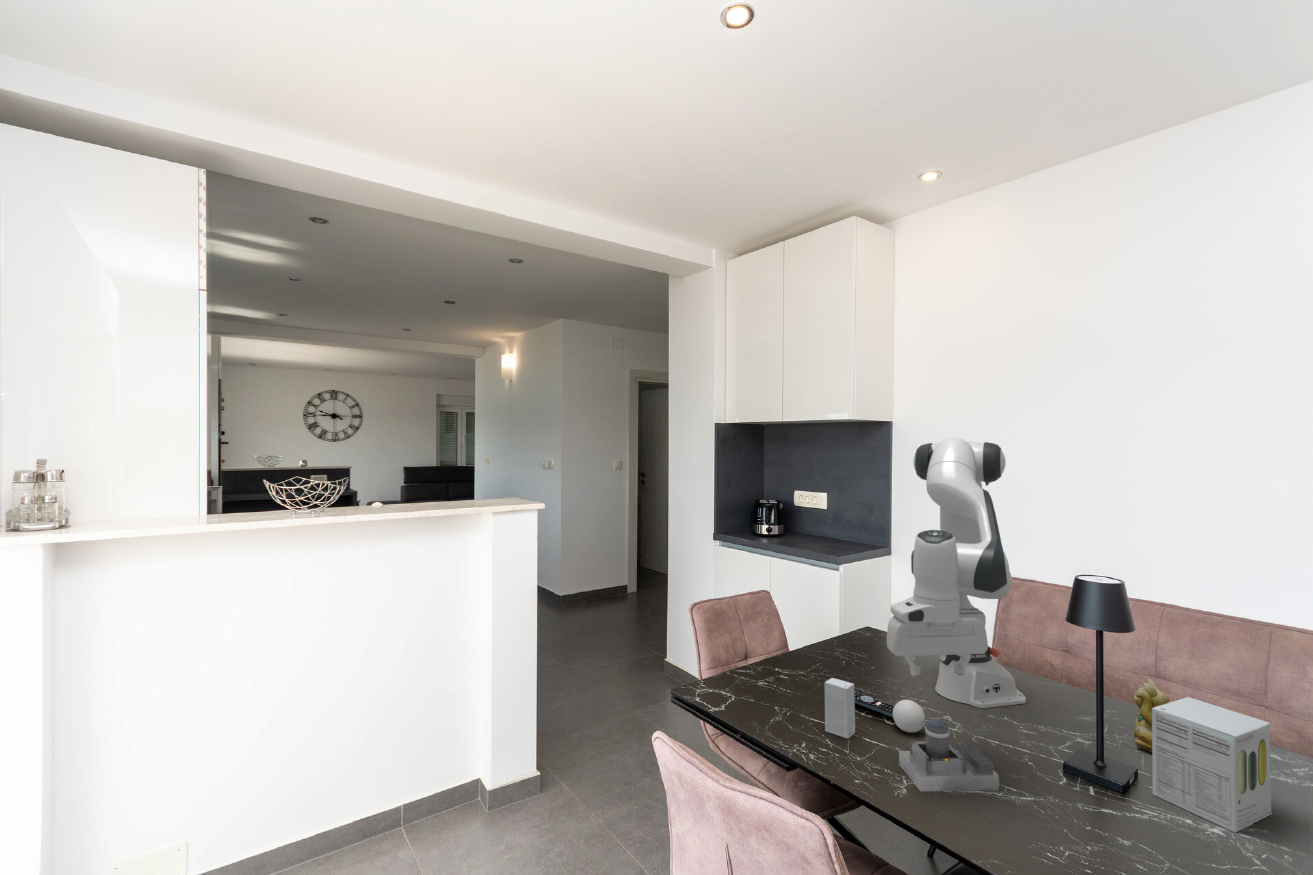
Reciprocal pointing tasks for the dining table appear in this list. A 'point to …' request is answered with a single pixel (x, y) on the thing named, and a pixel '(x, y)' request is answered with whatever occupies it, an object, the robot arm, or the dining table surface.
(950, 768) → the grey holder dock
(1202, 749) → the supplement box
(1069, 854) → the dining table surface
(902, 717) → the white egg
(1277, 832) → the dining table surface
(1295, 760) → the dining table surface
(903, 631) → the robot arm
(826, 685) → the skincare box
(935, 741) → the lens
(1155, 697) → the decorative figurine
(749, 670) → the dining table surface
